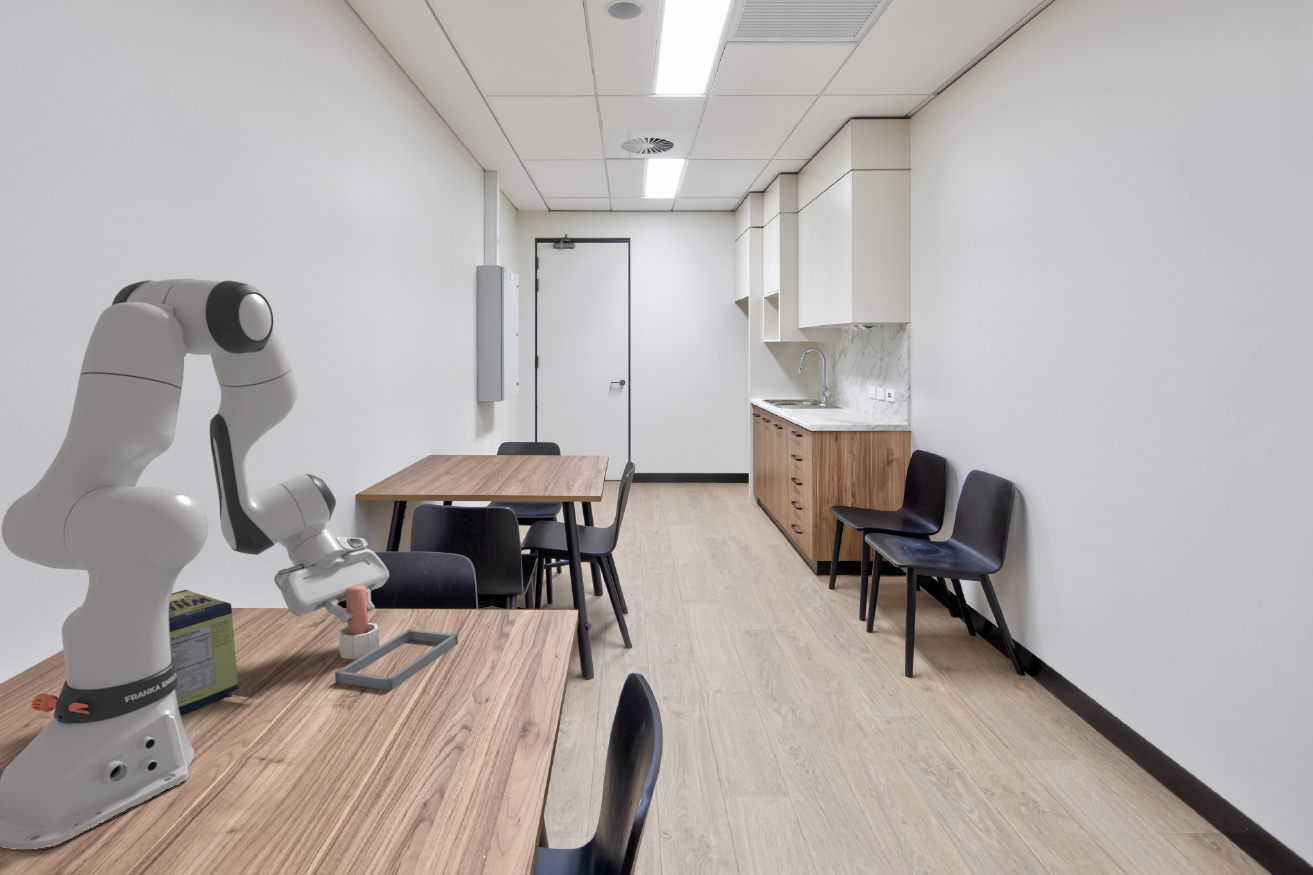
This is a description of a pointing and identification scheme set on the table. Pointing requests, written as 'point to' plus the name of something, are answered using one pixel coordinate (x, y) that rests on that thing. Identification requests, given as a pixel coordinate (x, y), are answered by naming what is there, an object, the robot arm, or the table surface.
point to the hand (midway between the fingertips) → (359, 615)
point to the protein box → (201, 649)
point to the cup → (358, 642)
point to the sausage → (357, 609)
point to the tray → (350, 671)
